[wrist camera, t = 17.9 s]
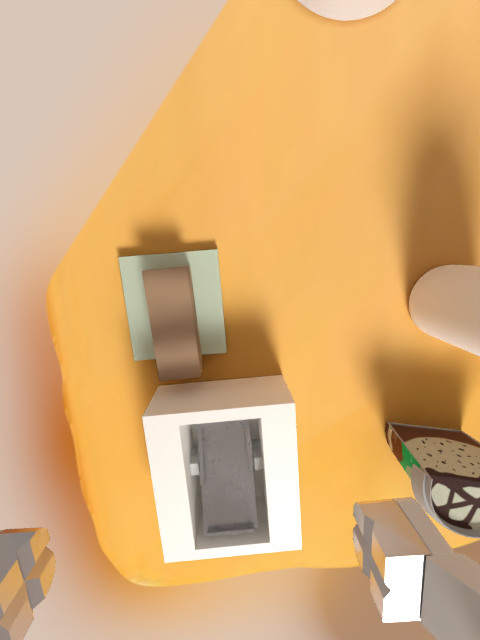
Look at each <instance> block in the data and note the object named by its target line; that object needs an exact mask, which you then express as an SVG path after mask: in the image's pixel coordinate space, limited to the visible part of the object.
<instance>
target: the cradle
mask: <svg viewBox="0 0 480 640" xmlns="http://www.w3.org/2000/svg"><path fill="white" fill-rule="evenodd" d="M198 443H199V463H200V484H201V485H202V503H203V523H204V533H207V537H210V536H221V535H231V534H241V533H251V532H254V528H258V522H257V511H256V499H255V488H254V476H253V465H252V453H251V442H250V431H249V422H248V419H245V420H234V421H223V422H212V423H201V424H199V428H198Z"/></svg>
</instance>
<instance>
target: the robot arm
mask: <svg viewBox="0 0 480 640" xmlns="http://www.w3.org/2000/svg"><path fill="white" fill-rule="evenodd" d="M298 1H299V2H300V3H301V4H302V5H303V6H305V7H306V8H308V9H309V10H311V11H312V12H314V13H316V14H318V15H321V16H323V17H326V18H330V19H335V20H345V21H346V20H357V19H362V18H366V17H369V16H372V15H374V14H376V13H378V12H380V11H382V10H384V9H385V8H387V7H388V6H389V5H391V4H392V3H393V2H394V1H396V0H298ZM353 515H354V517H355V519H356V522H357V524H356V526H355V527H354V528H353V541H354V547H355V552H356V556H357V559H358V562H359V565H360V567H361V570H362V572H363V573H364V574H365V575H367V576H368V577H369V578H370V592H371V594H372V597H373V599H374V601H375V604H376V606H377V609H378V611H379V613H380V616H381V618H382V620H383V622H394V621H414V620H421V624H422V625H423V626H424V627H425V628H427V630H428V631H429V632H430V633H431V634H432V635H433V636H434V637H435V638H436V639H437V640H480V564H478V563H476V562H475V561H473V560H472V559H470V558H469V557H467V556H465V555H464V554H462V553H457V554H456V553H455V552H454V551H453V549H452V548H451V547H450V545H449V544H448V543H447V541H446V540H445V539H444V537H443V536H442V535H441V533H440V532H439V531H438V529H437V528H436V527H435V525H434V524H433V523H432V521H431V520H430V519H429V517H428V516H427V515H426V513H425V512H424V511H423V509H422V508H421V507H420V505H419V504H418V503H417V501H416V500H415V499H413V498H412V497H408V498H397V499H392V500H391V499H387V500H376V501H365V502H355V504H354V512H353ZM49 540H50V537H49V533H48V530H47V529H46V528H23V529H5V530H0V640H23V638H24V636H25V635H26V633H27V631H28V629H29V627H30V625H31V623H32V621H33V619H34V618H33V608H35V607H36V606H37V605H38V604H39V603H40V602H41V601H42V600H43V599H44V598H45V597H46V595H47V593H48V591H49V589H50V587H51V584H52V580H53V577H54V573H55V557H54V553H53V552H52V551H51V550H49V549H48V548H47V547H46V545H47V544H48V542H49Z"/></svg>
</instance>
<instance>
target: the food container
mask: <svg viewBox="0 0 480 640" xmlns="http://www.w3.org/2000/svg"><path fill="white" fill-rule="evenodd" d="M385 432H386V439H387V443H388V445H389V447H390V448H391V450H392V452H393V453H394V455H395V456H396V458H397V459H398V461H399V462H400V464H401V465H402V467H403V468H404V470H405V471H406V473H407V474H408V476H409V478H410V479H411V484H412V489H413V493H414V495H415V498H416V500H417V501H418V503H419V505H420V506H421V507H422V508H423V509H424V510H425V512H427V513H428V514H429V515H430V516H431V517H432V518H434V519H435V520H436V521H437V522H438V523H440V524H441V525H442V526H444V527H446V528H447V529H449V530H451V531H453V532H455V533H457V534H459V535H462V536H465V537H471V538H480V443H479V442H478V441H477V440H475V439H474V438H472V437H471V436H469V435H468V434H466V433H465V432H463V431H462V430H456V429H446V428H437V427H428V426H419V425H410V424H401V423H392V422H387V423H386V429H385Z"/></svg>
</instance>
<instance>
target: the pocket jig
mask: <svg viewBox="0 0 480 640" xmlns="http://www.w3.org/2000/svg"><path fill="white" fill-rule="evenodd" d="M142 419H143V426H144V432H145V438H146V445H147V451H148V458H149V464H150V471H151V477H152V483H153V490H154V496H155V503H156V509H157V516H158V522H159V528H160V535H161V541H162V548H163V554H164V560H165V563H169V562H179V561H189V560H199V559H209V558H219V557H229V556H239V555H249V554H259V553H270V552H280V551H290V550H300V549H302V539H301V518H300V497H299V477H298V456H297V435H296V414H295V402H294V400H293V397H292V395H291V393H290V391H289V389H288V386H287V384H286V382H285V380H284V377H283V375H274V376H262V377H251V378H240V379H228V380H217V381H206V382H195V383H183V384H172V385H161V386H158V388H157V390H156V392H155V394H154V395H153V397H152V399H151V401H150V403H149V405H148V407H147V409H146V410H145V412H144V414H143V416H142ZM245 419H248V422H249V431H250V442H251V453H252V465H253V476H254V488H255V499H256V511H257V522H258V528H254V532H251V533H241V534H231V535H221V536H210V537H207V533H204V523H203V503H202V485H201V484H200V463H199V443H198V428H199V424H201V423H212V422H223V421H234V420H245Z"/></svg>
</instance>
